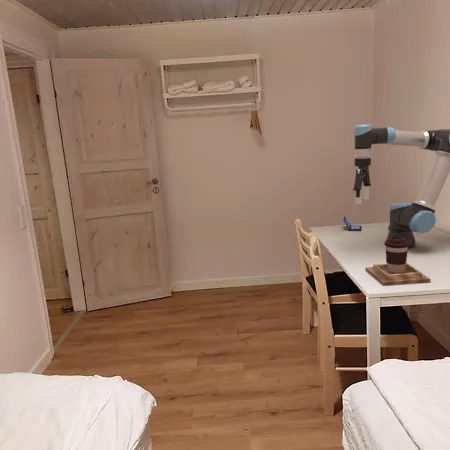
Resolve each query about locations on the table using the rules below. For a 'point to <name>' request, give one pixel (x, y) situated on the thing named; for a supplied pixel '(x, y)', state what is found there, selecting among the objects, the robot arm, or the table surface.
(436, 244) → the table surface
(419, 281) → the cup rack
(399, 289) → the table surface
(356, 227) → the handheld game console
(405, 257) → the coffee cup
